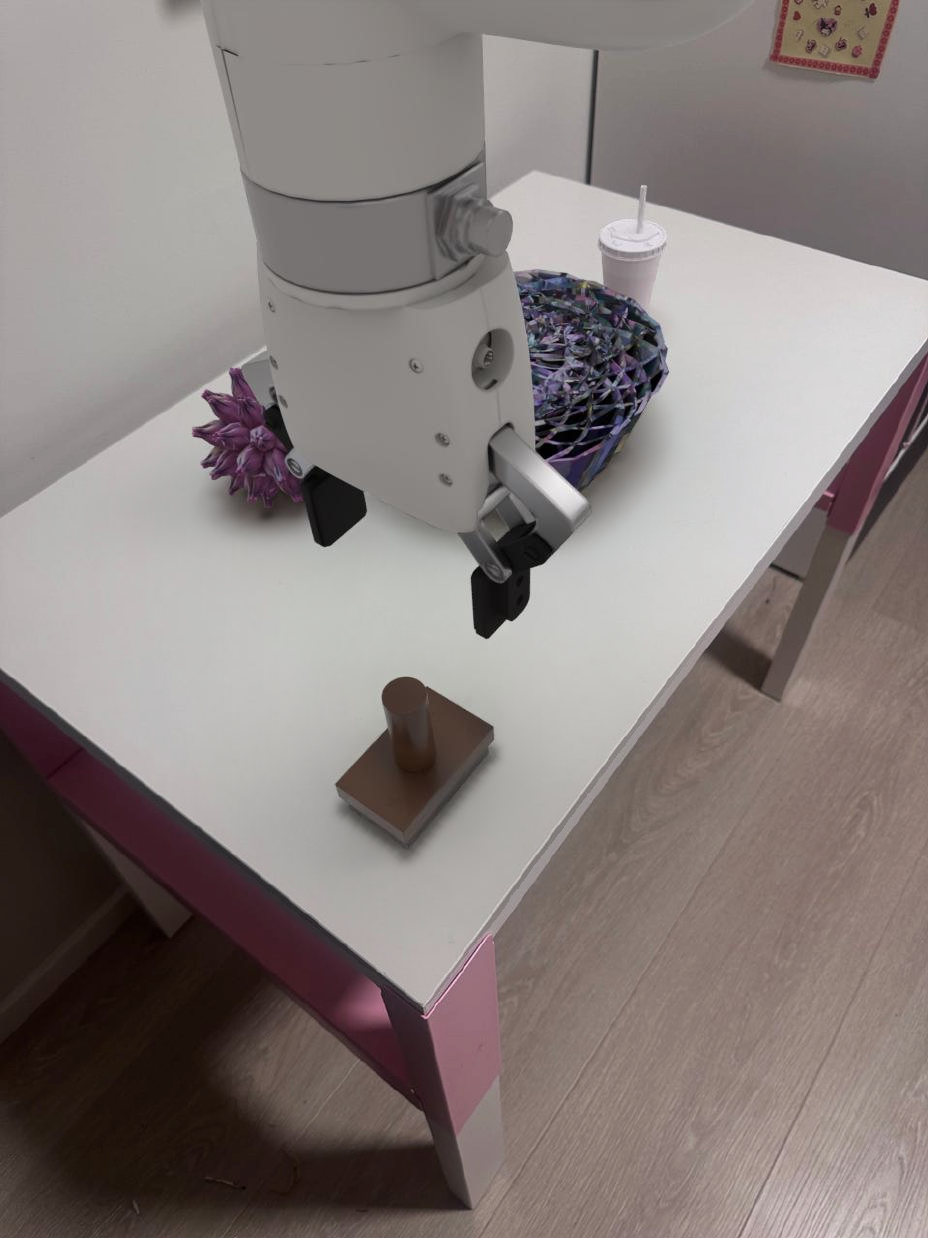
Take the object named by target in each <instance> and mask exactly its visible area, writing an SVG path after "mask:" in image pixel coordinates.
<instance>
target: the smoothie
mask: <svg viewBox="0 0 928 1238" xmlns="http://www.w3.org/2000/svg"><path fill="white" fill-rule="evenodd" d="M647 191H648V186H647V185H645V184H641V185H640V189H639V198H638V199H639V200H638V210H637V218H624V219H623V218H622V219H619V220H615V221H612V222H610V223H608V224H605V226H603V227H602V228H601V229H600V230H599V233H598V240H597V247H598V249H599V251H600V253H601V268H602V285H604V286H606V287H608V288H610V289H612V290H614V291H616V292H618V293H620V294H622V295H625V296H627V297H630V298H632V299H634V300H635V301H636V302H637V303H638V304H639V305H640V306H641V307H642V308H643V309H644V310H645V311H646V313H647V314H648V310H649V306H650V303H651V297H652V294H653V290H654V287H655V282H656V278H657V274H658V270H659V267H660V264H661V263H660V262H661V258H662V254H663V253H664V252H665V251H666V250H667V247H668V242H667V241H668V232H667V231H666V229H665V228H664V227H663V226H661V225H660V224H658V223H656V222H654V221H652V220H648V219H645V212H646V211H645V210H646V200H647Z"/></svg>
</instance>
